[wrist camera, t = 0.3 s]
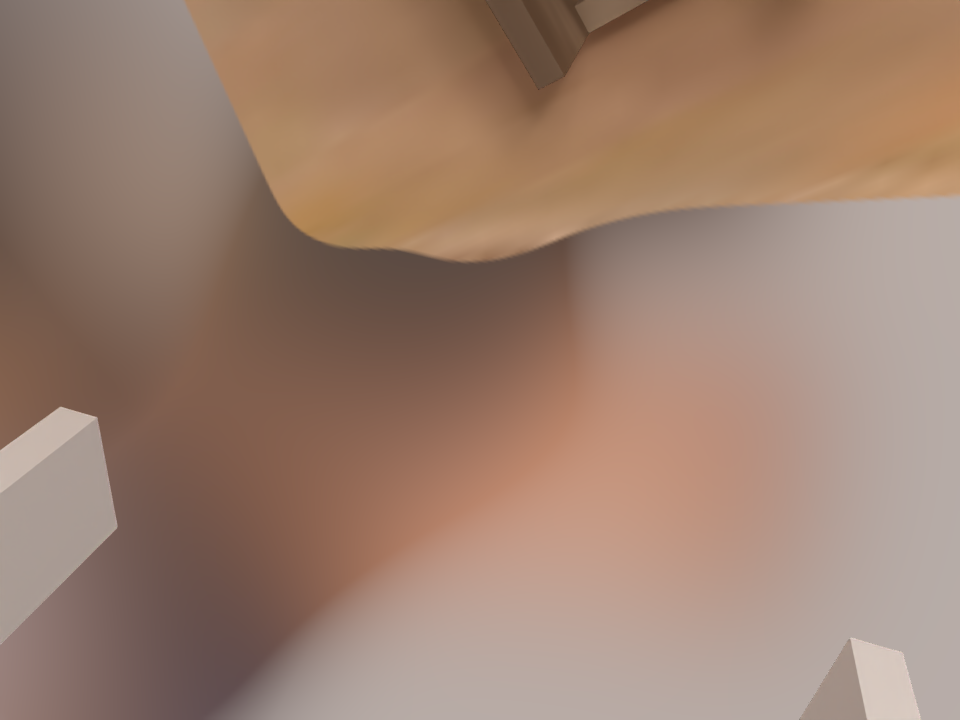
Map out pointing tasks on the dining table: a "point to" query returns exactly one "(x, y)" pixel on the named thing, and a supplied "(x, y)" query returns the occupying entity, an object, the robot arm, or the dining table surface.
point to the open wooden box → (553, 30)
